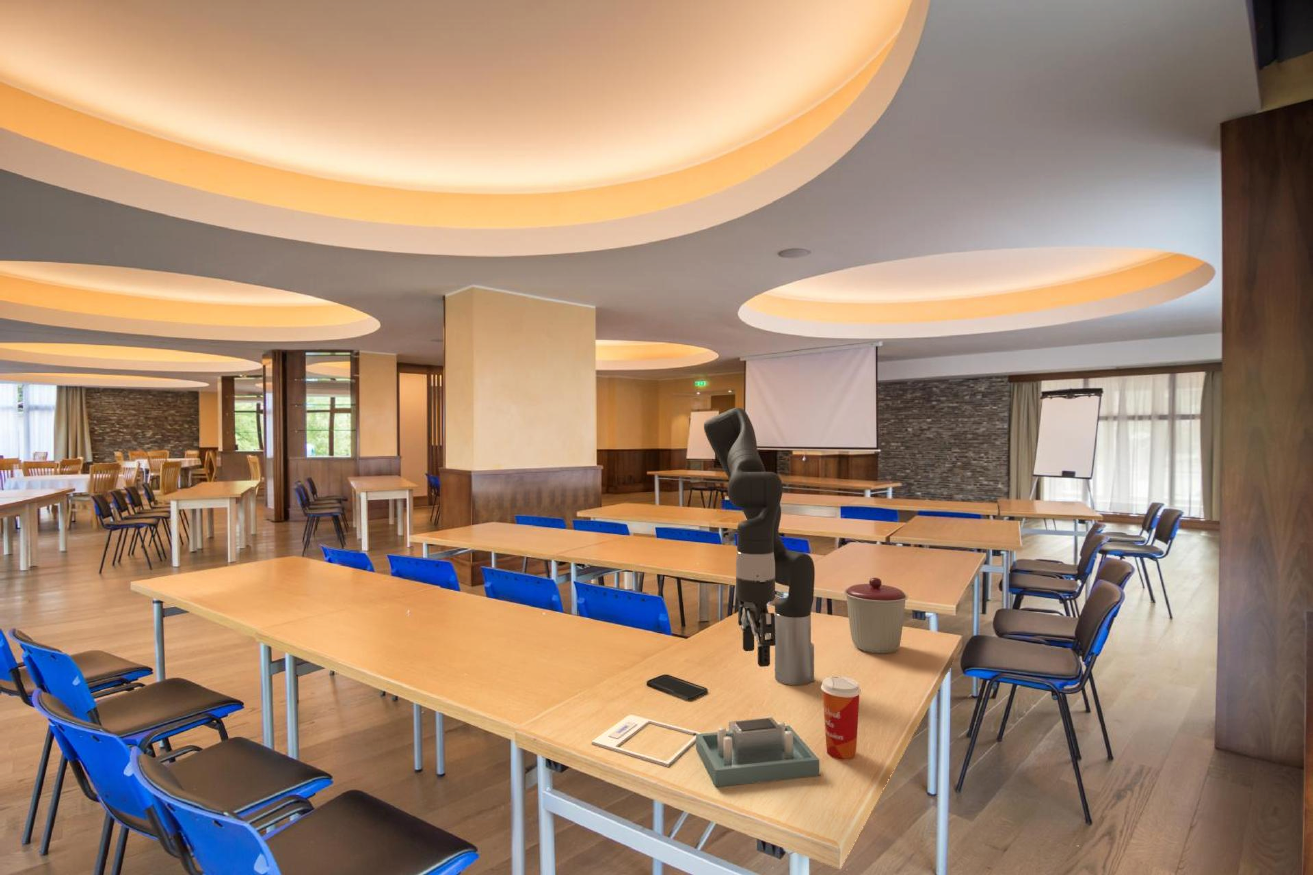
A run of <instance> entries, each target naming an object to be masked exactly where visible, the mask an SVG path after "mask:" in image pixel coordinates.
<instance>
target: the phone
mask: <svg viewBox="0 0 1313 875" xmlns="http://www.w3.org/2000/svg"><path fill="white" fill-rule="evenodd" d="M645 683H646V687H649V688H652V689H655V690H658V691H660V692H663V693H665V694H668V695H670V696H673V697H675V698H678V699H681V700H683V701H688V702H691V701H694V700H695V699H699V698H700V697H702V696H705V695H706V694H708V692H709V690H708V688H707V687H705V686H702V685H699V684H696V683H693V682H690V681H687V680H684V679H681V678H679V677H676V676H673V675H670V674H661V675H658V676H656V677H653V678H651V679H648V680H646V682H645Z"/></svg>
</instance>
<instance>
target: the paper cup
mask: <svg viewBox="0 0 1313 875" xmlns="http://www.w3.org/2000/svg"><path fill="white" fill-rule="evenodd" d="M820 689H821V690H822V700H823V718H824V731H825V732H824V733H825V734H824V735H825V746H826V747H825V748H826V753H827V755H829V756H830V757H831V758H834V759H837V760H839V761H840V760H841V761H850V760H853V759H854V758H855V757H856V756H857V754H856V753H857V745H858V744H857V742H858V741H857V740H858V724H859V707H860V695H861V694H862V689H861V688H860V684H859V682H857V681H856V680H854V679H852V678H849V677H845V676H832V677H831V676H829V677H826V678H824V679H823V681H822V684H821V686H820Z"/></svg>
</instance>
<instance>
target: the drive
mask: <svg viewBox="0 0 1313 875" xmlns="http://www.w3.org/2000/svg"><path fill="white" fill-rule="evenodd" d="M728 731H729V737H731V738H732V758H733V759H734V761H735V762H736V764H737V765H742V764H752V763H762V762H771V761H779V760H782V728H781V727H780V726H779V725H778V724H777V721H775V719H774V718H773V717H763V718H762V717H761V718H754V719H753V718H752V719H743V720H734V721H733V720H732V721H728Z"/></svg>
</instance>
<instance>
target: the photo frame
mask: <svg viewBox="0 0 1313 875" xmlns="http://www.w3.org/2000/svg"><path fill="white" fill-rule="evenodd" d="M648 724H651V725H655V726H659V727H662V728H666V729H670V730H674V731H677V732H681V733H685V734H689V735H693V737H692V738H691V739H690V740H689V741H688V742H686V743H685V744H684V745H683V746H682V747H681V748H680V749H679V750H678V751H676V753H675V754H673V755H672V756H671V757H670V758H669V759H668V760H666V761H665V760H663V759H658V758H656V757H652V756H650V755H645V754H642V753H639V752H635V751H631V750H628V749H626V748H621V747H619V746H621V745H622V744H624V743H625V742H626V741H628V739H630V738H631V737H633V736H634V735H635V734H636V733H638V732H639V731H640V730H642V729H644V727H647V726H648ZM696 734H703V733H702V732H700V731H696V730H692V729H688V728H684V727H681V726H676V725H673V724H672V725H671V724H668V723H665V722H661V721H657V720H653V719H650V718H649V719H648V718H645V717H641V716H638V715H634V714H628V715H627V716H625V717H624V718H622V719H621V720H620V721H619V722H617V723H616V724H614V725H613V726H611V727H610V728H609V729H607V730H606V731H605V732H603V733H601V734H600V735H599V736H597V737H596V738H594V739H593V740H591V744H592V745H594V746H597V747H601V748H604V749H607V750H610V751H615V752H617V753H620V754H624V755H626V756H631V757H634V758H638V759H641V760H645V761H647V762H650V763H654V764H657V765H661V766H664V767H667V768H669V767H670V766H671V765H672V764H673V763H674V762H675V761H677V760H678V758H680V757H681V756H682V755H683V754H684V753H685V752H686V751H687V750H688V749H689V748H690V747H691V746H692V745H693V744H695V743H696Z"/></svg>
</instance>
